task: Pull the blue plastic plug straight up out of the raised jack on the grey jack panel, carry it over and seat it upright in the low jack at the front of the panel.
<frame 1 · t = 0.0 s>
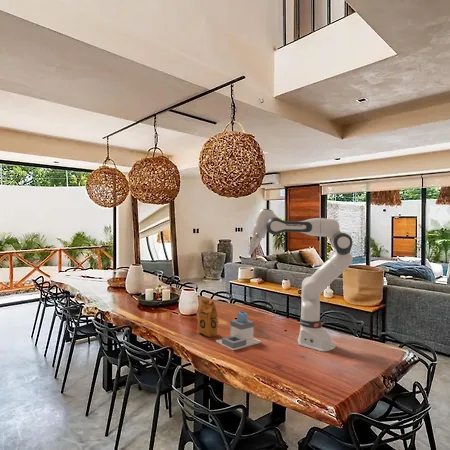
hand: (250, 253, 215), 52 cm above the table, tool tilted 20°, fingers open, 8 cm apart
plug: (242, 326, 210), point 8 cm above the table, touching jack panel
jack panel: (238, 342, 204), on the table
coffee package: (207, 334, 217), on the table
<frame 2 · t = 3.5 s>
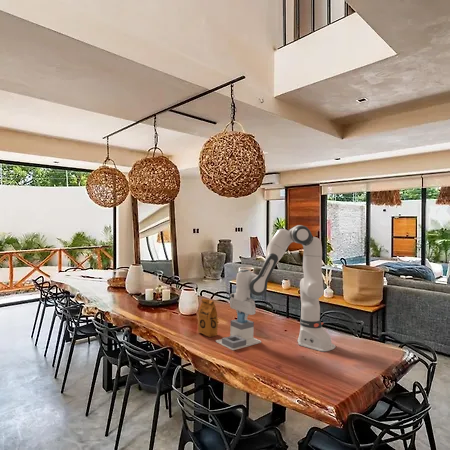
hand: (242, 318, 210), 13 cm above the table, tool pointing down, fingers closed on plug, 4 cm apart
plug: (242, 326, 210), point 8 cm above the table, touching gripper, jack panel
everything else where it was.
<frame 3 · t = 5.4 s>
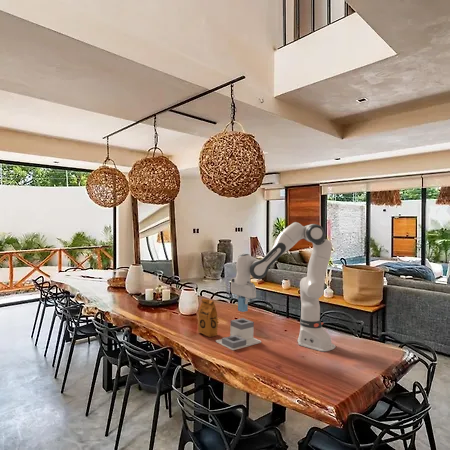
hand: (242, 303, 209), 22 cm above the table, tool pointing down, fingers closed on plug, 4 cm apart
plug: (242, 310, 210), point 18 cm above the table, touching gripper
everything else where it was.
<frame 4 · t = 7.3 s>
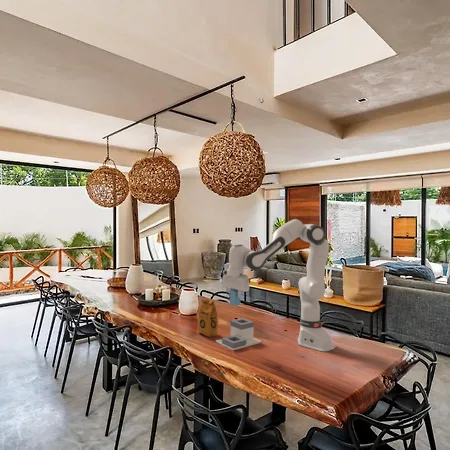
hand: (235, 296, 198), 29 cm above the table, tool pointing down, fingers closed on plug, 4 cm apart
plug: (235, 304, 198), point 24 cm above the table, touching gripper
everything else where it was.
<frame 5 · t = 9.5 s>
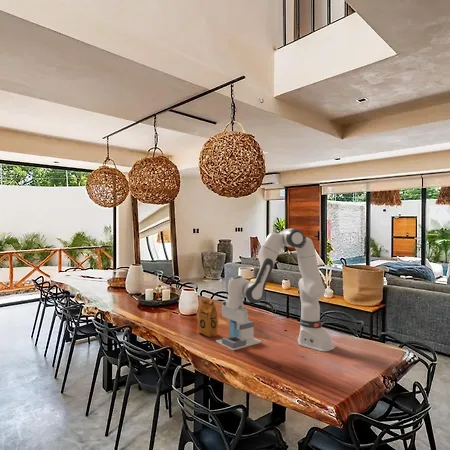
hand: (234, 327, 198), 10 cm above the table, tool pointing down, fingers closed on plug, 4 cm apart
plug: (233, 335, 198), point 6 cm above the table, touching gripper
everything else where it was.
when the fingers open (6 cm above the table, at t = 11.1 s): plug stays where it is, resting on jack panel.
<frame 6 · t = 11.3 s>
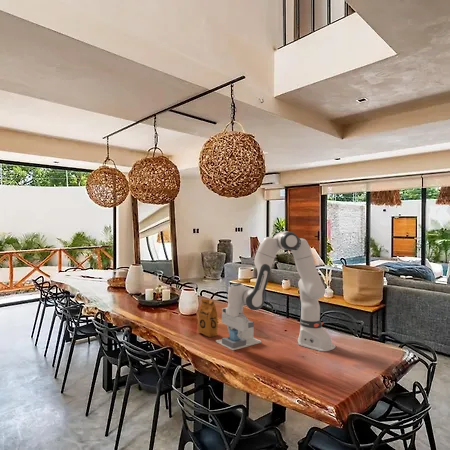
hand: (234, 335, 198), 6 cm above the table, tool pointing down, fingers open, 6 cm apart
plug: (234, 344, 198), point 1 cm above the table, touching jack panel
everything else where it was.
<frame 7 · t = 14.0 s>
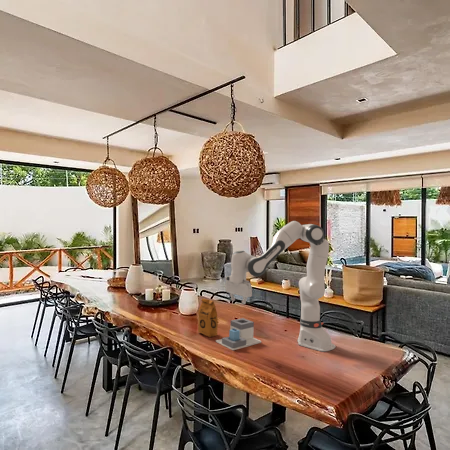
hand: (238, 302, 201), 25 cm above the table, tool pointing down, fingers open, 8 cm apart
nothing on the table moved.
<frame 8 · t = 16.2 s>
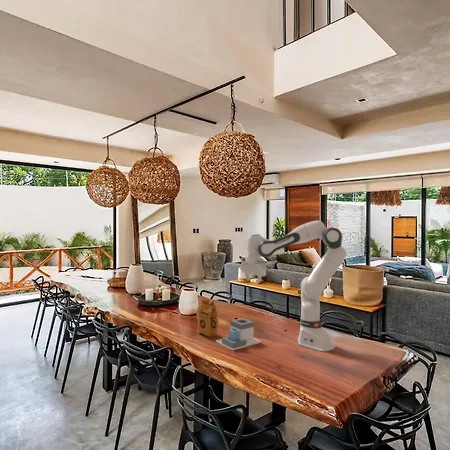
hand: (253, 281, 218), 34 cm above the table, tool pointing down, fingers open, 8 cm apart
nothing on the table moved.
at the end: plug 0.1 cm from the target spot on the jack panel, point 1.0 cm above the jack panel's base; plug tilted 0°; the gripper is holding nothing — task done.
